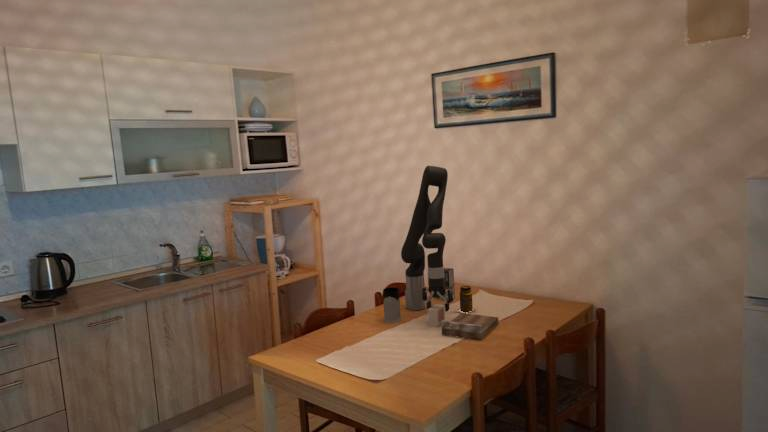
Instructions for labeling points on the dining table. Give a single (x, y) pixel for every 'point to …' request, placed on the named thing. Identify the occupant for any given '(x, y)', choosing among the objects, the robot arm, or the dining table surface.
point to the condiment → (465, 299)
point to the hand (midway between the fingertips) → (438, 310)
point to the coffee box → (449, 281)
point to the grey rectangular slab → (469, 326)
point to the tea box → (436, 315)
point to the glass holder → (391, 305)
